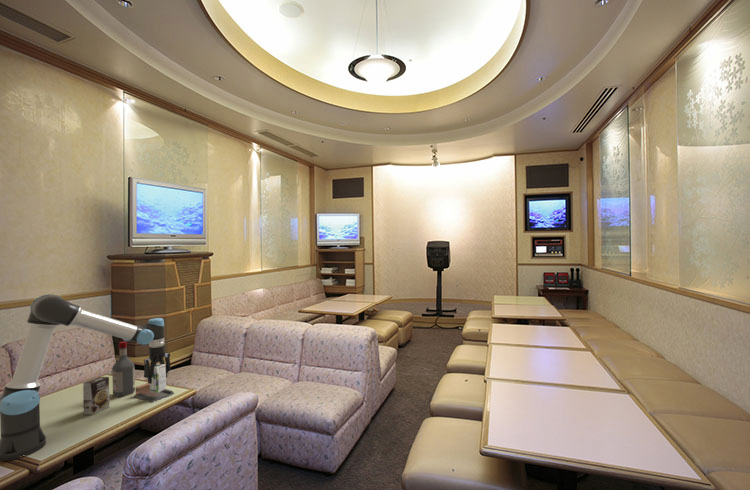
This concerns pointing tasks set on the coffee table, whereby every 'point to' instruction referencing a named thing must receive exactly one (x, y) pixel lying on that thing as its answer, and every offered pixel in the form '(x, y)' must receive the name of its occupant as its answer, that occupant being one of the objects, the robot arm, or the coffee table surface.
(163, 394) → the rail board
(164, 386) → the syrup box
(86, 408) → the coffee box
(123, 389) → the liquor
